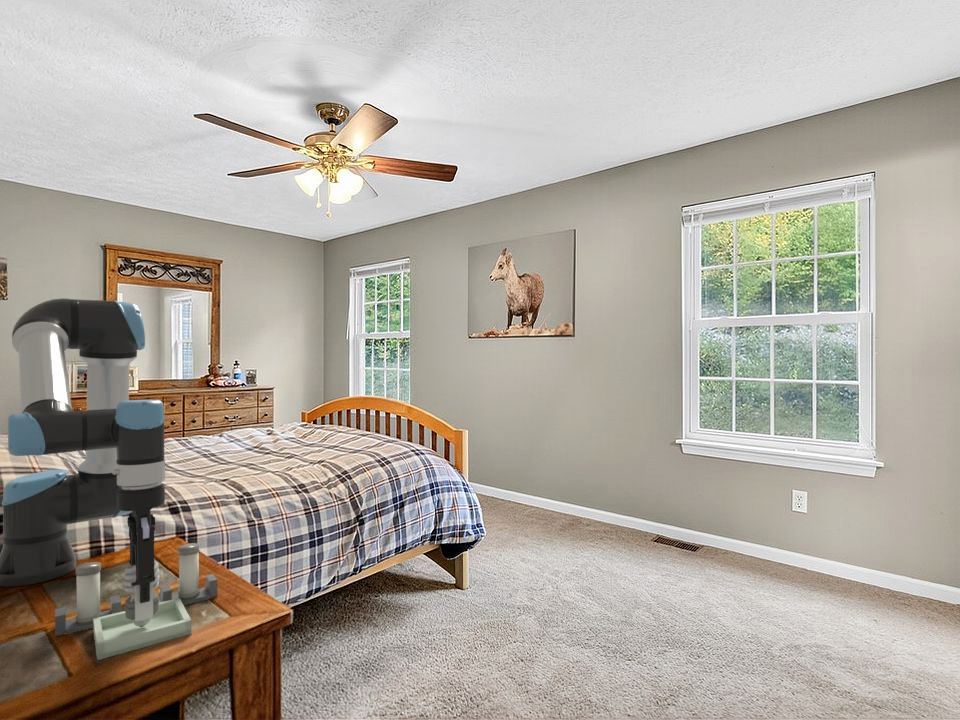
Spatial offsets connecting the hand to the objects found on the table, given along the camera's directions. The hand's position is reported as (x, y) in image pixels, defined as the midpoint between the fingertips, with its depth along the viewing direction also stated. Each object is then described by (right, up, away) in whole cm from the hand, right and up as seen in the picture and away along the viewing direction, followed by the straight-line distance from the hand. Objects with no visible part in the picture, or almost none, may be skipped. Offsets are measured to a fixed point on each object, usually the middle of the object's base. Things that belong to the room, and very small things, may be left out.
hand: (141, 612), depth 100 cm
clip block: (-6, -4, +9) cm, 11 cm away
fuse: (-12, -4, +4) cm, 13 cm away
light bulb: (0, -3, 0) cm, 3 cm away
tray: (0, -4, 0) cm, 4 cm away
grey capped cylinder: (+1, -4, +14) cm, 15 cm away
